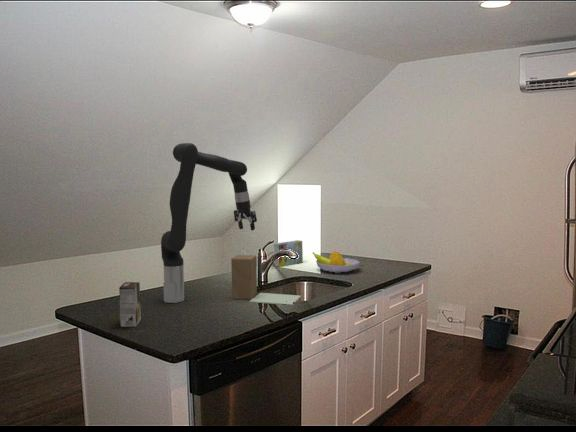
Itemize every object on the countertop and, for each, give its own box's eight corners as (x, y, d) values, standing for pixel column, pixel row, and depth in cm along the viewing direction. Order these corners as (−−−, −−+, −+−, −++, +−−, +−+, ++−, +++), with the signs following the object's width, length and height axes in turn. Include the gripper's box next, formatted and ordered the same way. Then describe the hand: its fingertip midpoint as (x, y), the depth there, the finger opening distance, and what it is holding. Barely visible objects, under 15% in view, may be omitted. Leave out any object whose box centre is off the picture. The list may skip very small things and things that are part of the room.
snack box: (297, 261, 332) (297, 239, 331) (302, 263, 328) (303, 240, 326) (273, 266, 318) (273, 243, 316) (279, 267, 314) (279, 244, 312)
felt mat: (292, 305, 225) (292, 304, 225) (249, 302, 231) (249, 301, 231) (300, 296, 241) (300, 295, 241) (260, 293, 246) (260, 292, 246)
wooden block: (251, 300, 234) (251, 259, 233) (231, 299, 236) (231, 258, 235) (257, 295, 244) (256, 255, 242) (237, 294, 246) (237, 254, 244)
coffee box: (125, 320, 204) (124, 282, 202) (141, 319, 204) (140, 281, 203) (119, 327, 195) (118, 287, 193) (136, 326, 195) (135, 286, 194)
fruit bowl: (365, 269, 306) (365, 251, 305) (346, 277, 284) (346, 258, 283) (326, 264, 321) (326, 247, 320) (305, 272, 299) (305, 253, 298)
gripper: (227, 201, 259) (232, 230, 262) (247, 202, 250) (251, 232, 253) (237, 197, 264) (242, 226, 268) (257, 198, 255) (261, 228, 259)
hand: (247, 229), depth 261 cm, fingers open, 8 cm apart
